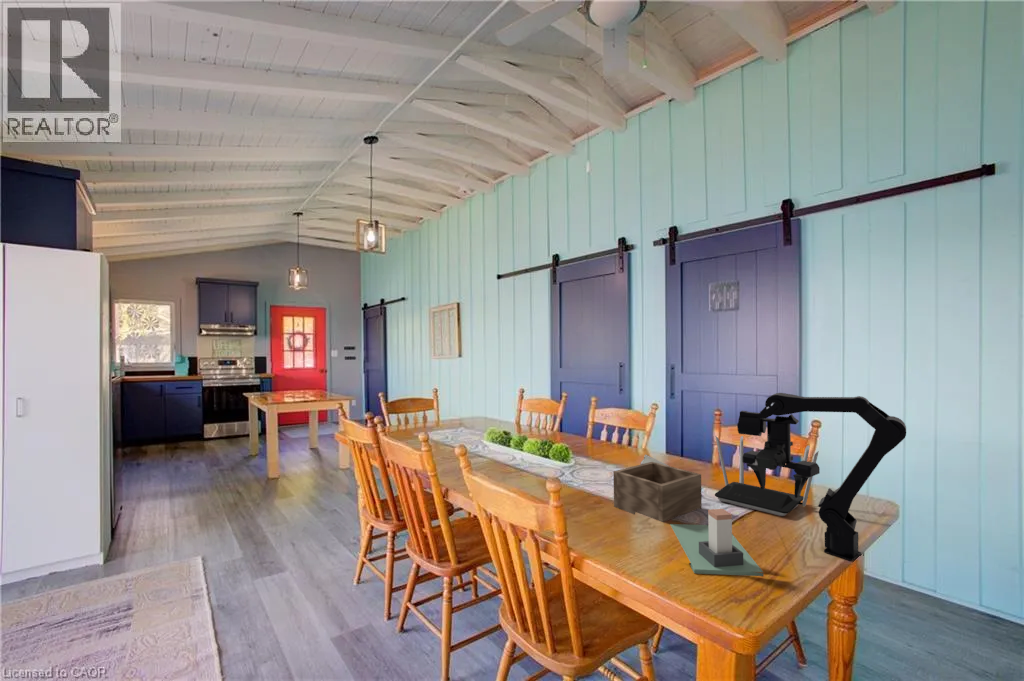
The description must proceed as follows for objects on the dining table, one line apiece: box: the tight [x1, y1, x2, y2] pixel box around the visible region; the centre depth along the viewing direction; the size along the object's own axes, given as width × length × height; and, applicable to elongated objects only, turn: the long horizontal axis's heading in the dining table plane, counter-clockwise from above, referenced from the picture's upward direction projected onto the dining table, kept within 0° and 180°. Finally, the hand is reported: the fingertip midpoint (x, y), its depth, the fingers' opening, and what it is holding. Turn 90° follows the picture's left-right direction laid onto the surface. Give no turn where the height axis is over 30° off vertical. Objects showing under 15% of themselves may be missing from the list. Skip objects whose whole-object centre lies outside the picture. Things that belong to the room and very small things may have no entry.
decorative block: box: [639, 454, 669, 466], centre depth 189 cm, size 8×30×8 cm, turn 11°
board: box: [669, 523, 764, 577], centre depth 129 cm, size 28×16×1 cm, turn 173°
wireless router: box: [714, 435, 819, 517], centre depth 165 cm, size 34×23×20 cm
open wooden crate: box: [612, 462, 703, 523], centre depth 160 cm, size 20×20×12 cm
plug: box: [707, 508, 733, 553], centre depth 121 cm, size 4×4×12 cm
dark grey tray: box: [699, 541, 743, 567], centre depth 122 cm, size 8×8×3 cm
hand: (779, 493), depth 135 cm, fingers open, 9 cm apart
